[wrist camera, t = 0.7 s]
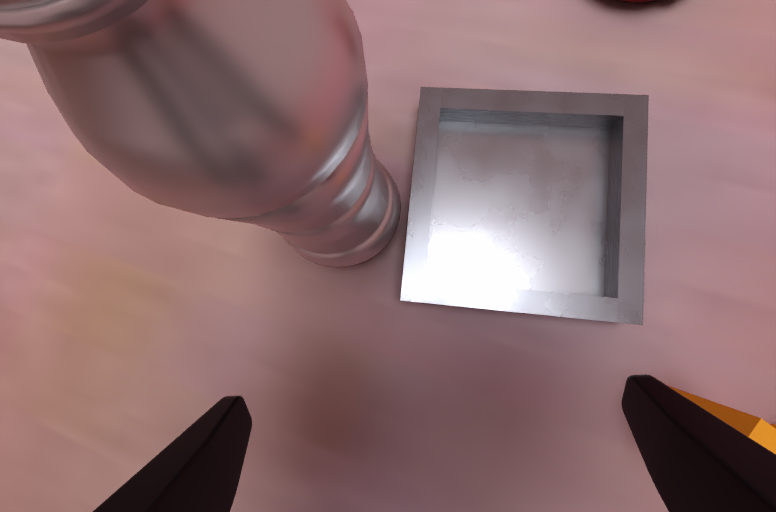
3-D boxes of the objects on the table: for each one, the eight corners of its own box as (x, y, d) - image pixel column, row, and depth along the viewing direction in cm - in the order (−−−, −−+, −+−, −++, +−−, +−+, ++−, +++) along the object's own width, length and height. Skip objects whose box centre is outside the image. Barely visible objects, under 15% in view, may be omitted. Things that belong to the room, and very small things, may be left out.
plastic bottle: (296, 171, 24) (-380, -510, 4) (403, 165, 23) (258, -700, 3) (295, 272, 23) (-574, 81, 3) (405, 269, 22) (229, 0, 2)
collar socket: (618, 322, 20) (643, 324, 18) (403, 300, 22) (400, 300, 20) (625, 116, 22) (648, 95, 20) (421, 108, 23) (421, 87, 21)
